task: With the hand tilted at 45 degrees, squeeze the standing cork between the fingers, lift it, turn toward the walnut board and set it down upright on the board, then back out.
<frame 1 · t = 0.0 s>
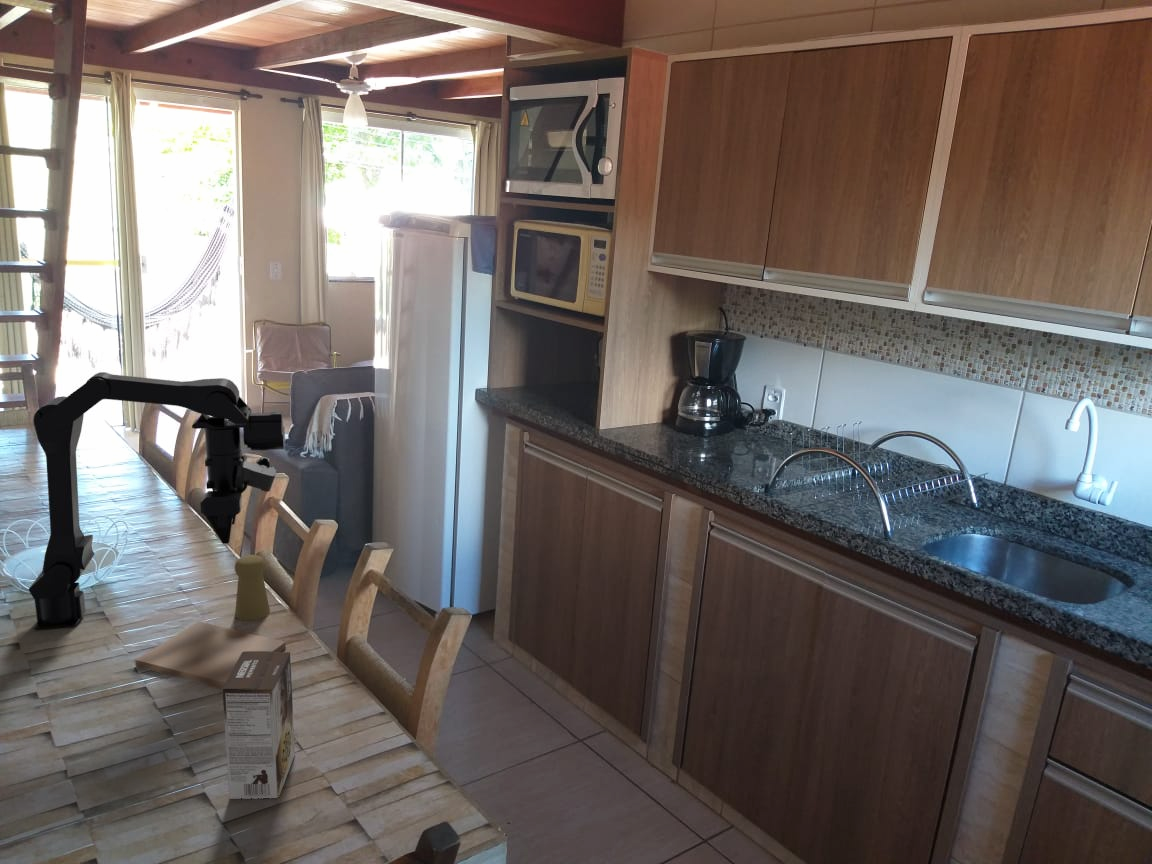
hand: (228, 533, 152), 15 cm above the table, tool pointing down, fingers open, 9 cm apart
walnut board: (212, 657, 138), on the table
cork: (252, 614, 154), on the table
coffee box: (263, 778, 111), on the table
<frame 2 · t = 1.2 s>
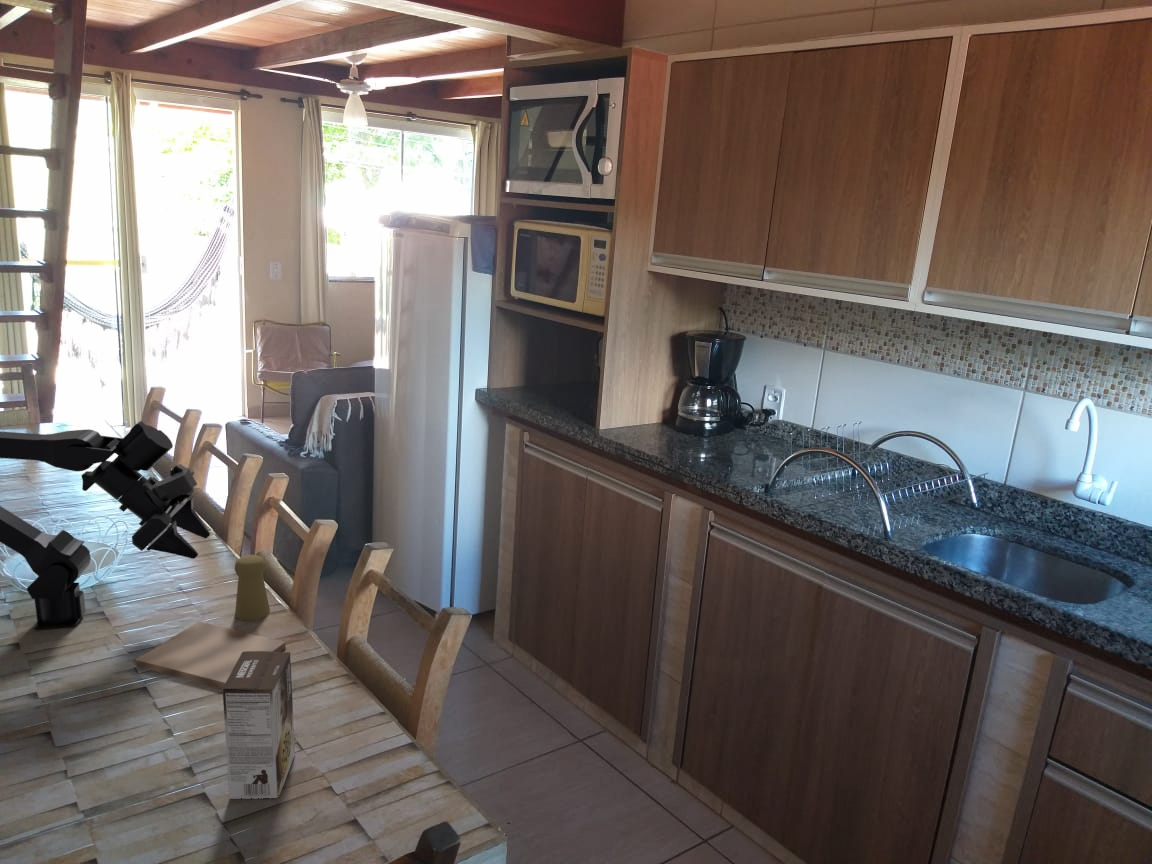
hand: (202, 546, 149), 13 cm above the table, tool tilted 45°, fingers open, 9 cm apart
nothing on the table moved.
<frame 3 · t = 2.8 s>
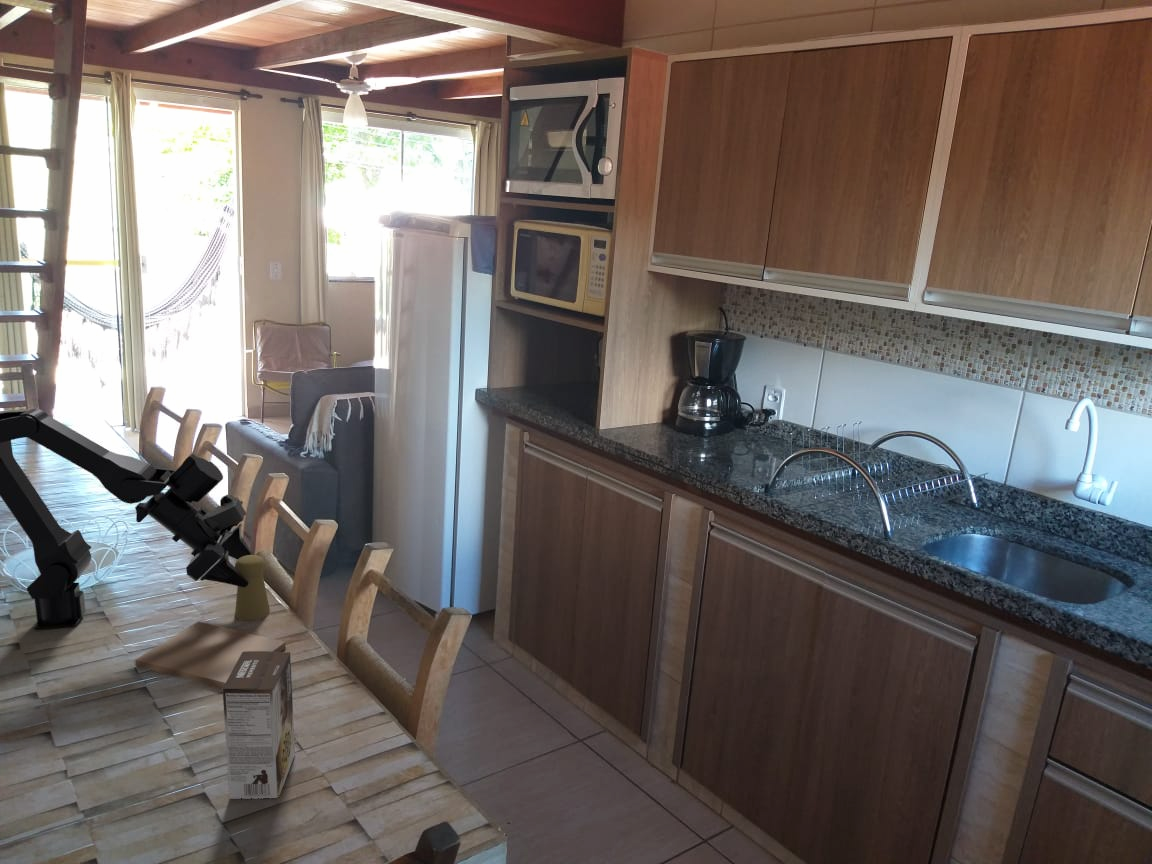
hand: (251, 574, 152), 8 cm above the table, tool tilted 45°, fingers open, 9 cm apart
nothing on the table moved.
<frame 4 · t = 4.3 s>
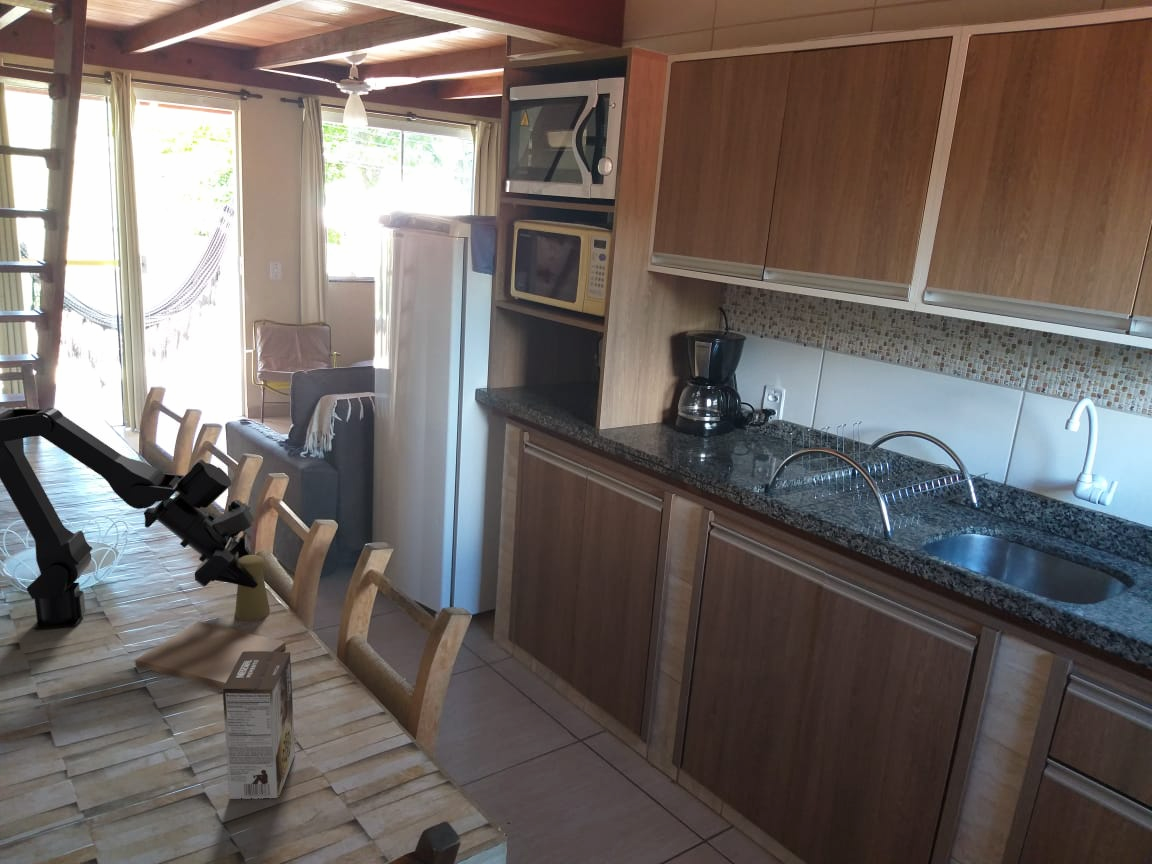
hand: (259, 579, 152), 7 cm above the table, tool tilted 45°, fingers closed on cork, 5 cm apart
cork: (252, 613, 154), on the table, touching gripper
everything else where it was.
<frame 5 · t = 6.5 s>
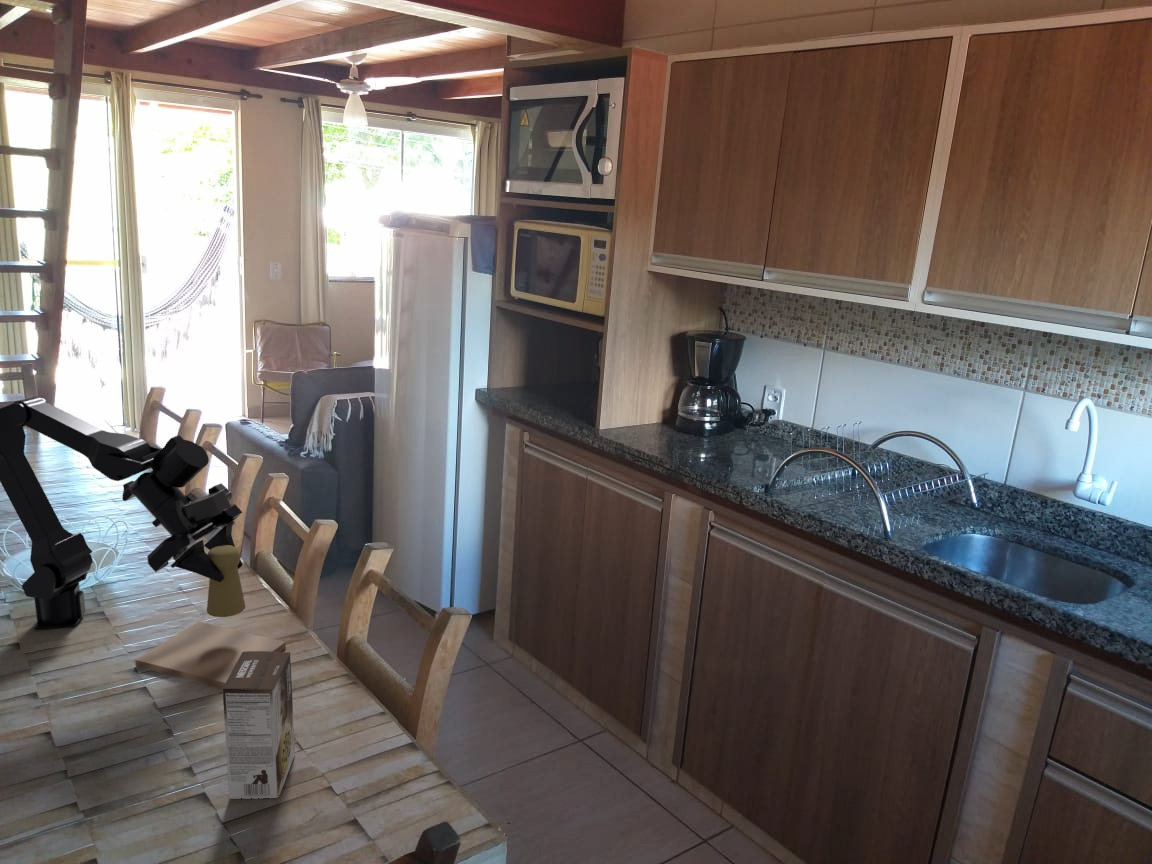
hand: (231, 573, 139), 13 cm above the table, tool tilted 45°, fingers closed on cork, 5 cm apart
cork: (226, 609, 141), point 6 cm above the table, touching gripper
everything else where it was.
when the fingers open (9 cm above the table, at t = 8.7 s): cork drops 1 cm, resting on walnut board.
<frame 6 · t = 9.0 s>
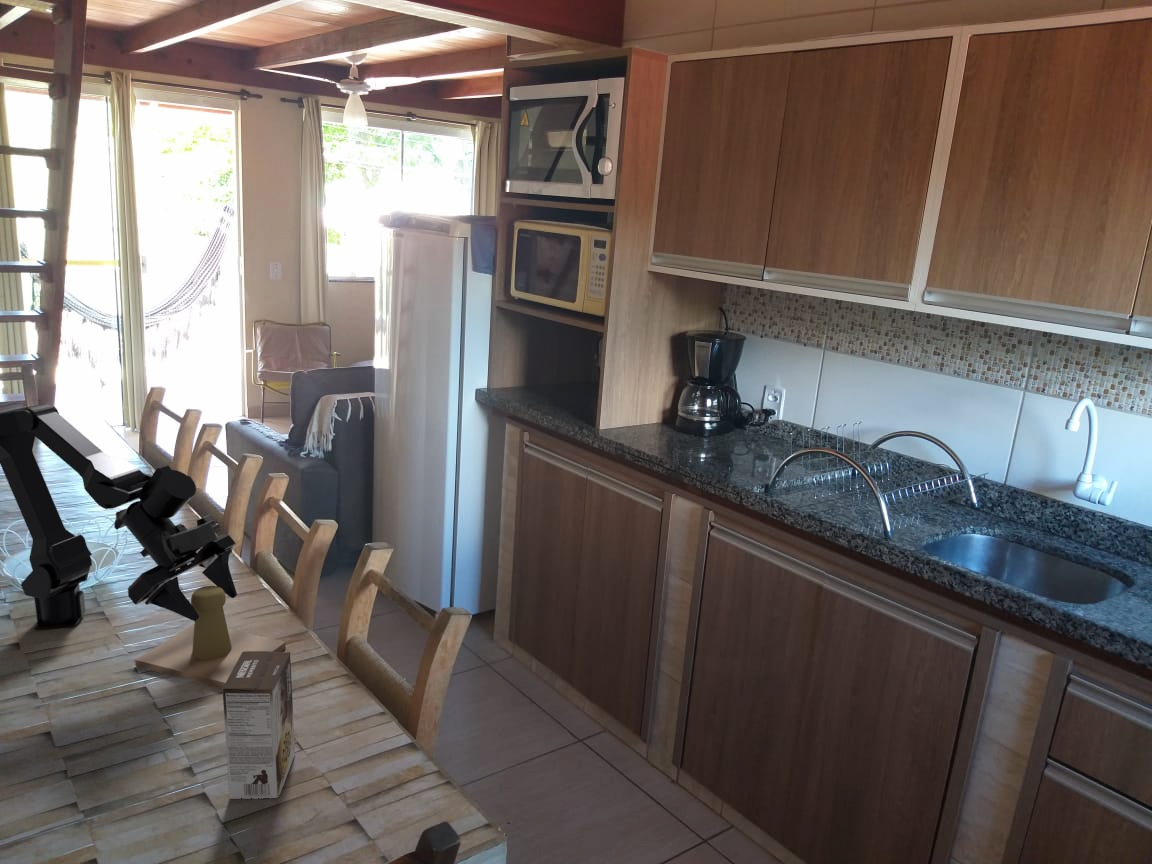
hand: (216, 607, 136), 9 cm above the table, tool tilted 45°, fingers open, 8 cm apart
cork: (212, 651, 138), point 1 cm above the table, touching walnut board
everything else where it was.
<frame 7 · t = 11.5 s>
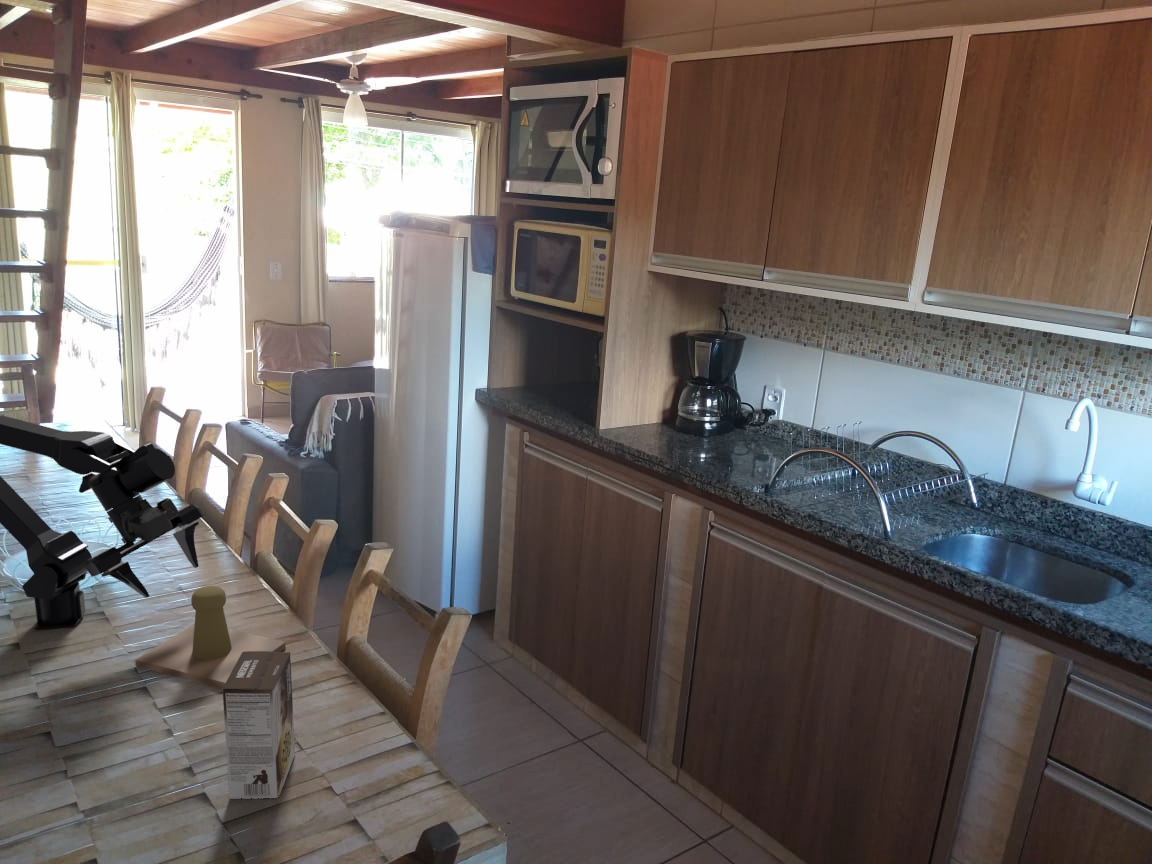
hand: (172, 581, 143), 10 cm above the table, tool tilted 30°, fingers open, 9 cm apart
nothing on the table moved.
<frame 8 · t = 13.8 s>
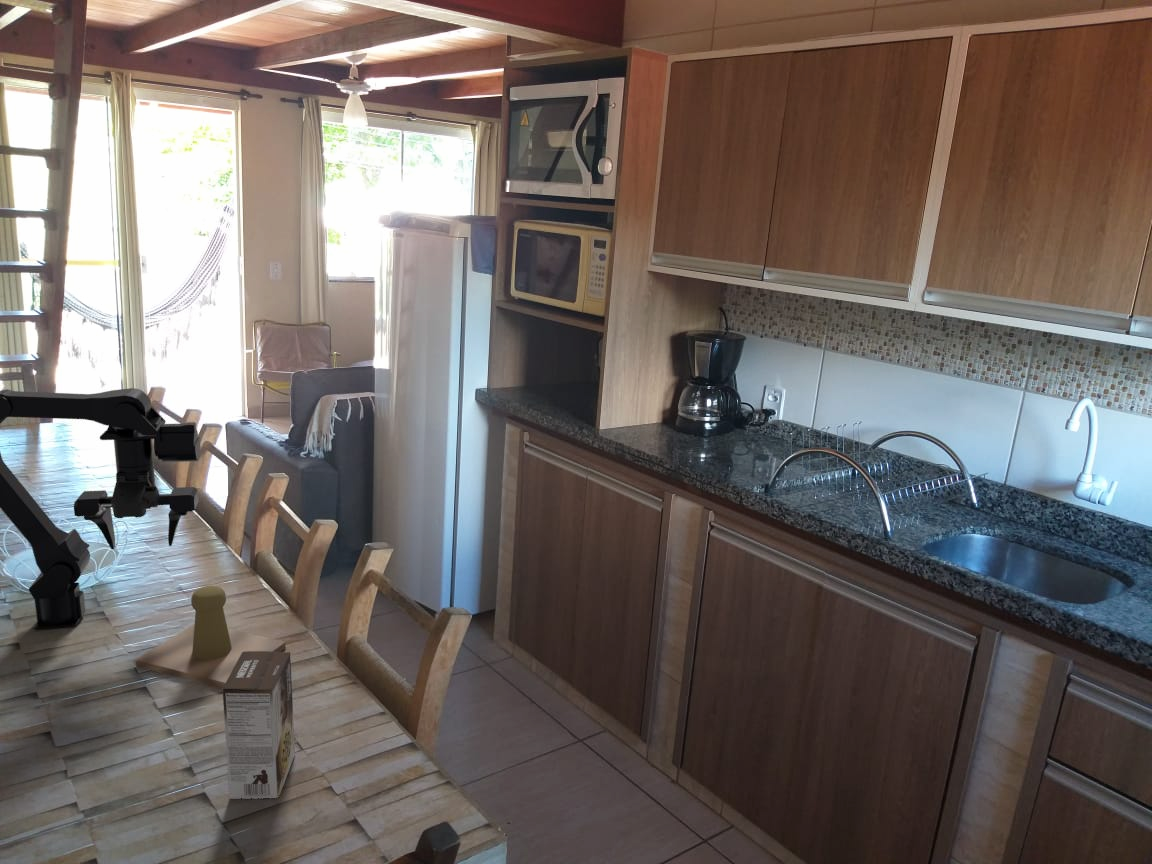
hand: (142, 546, 148), 13 cm above the table, tool pointing down, fingers open, 9 cm apart
nothing on the table moved.
at the end: cork inside the target area on the walnut board (0.1 cm from its centre), point 1.0 cm above the walnut board's base; cork tilted 0°; the gripper is holding nothing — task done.
